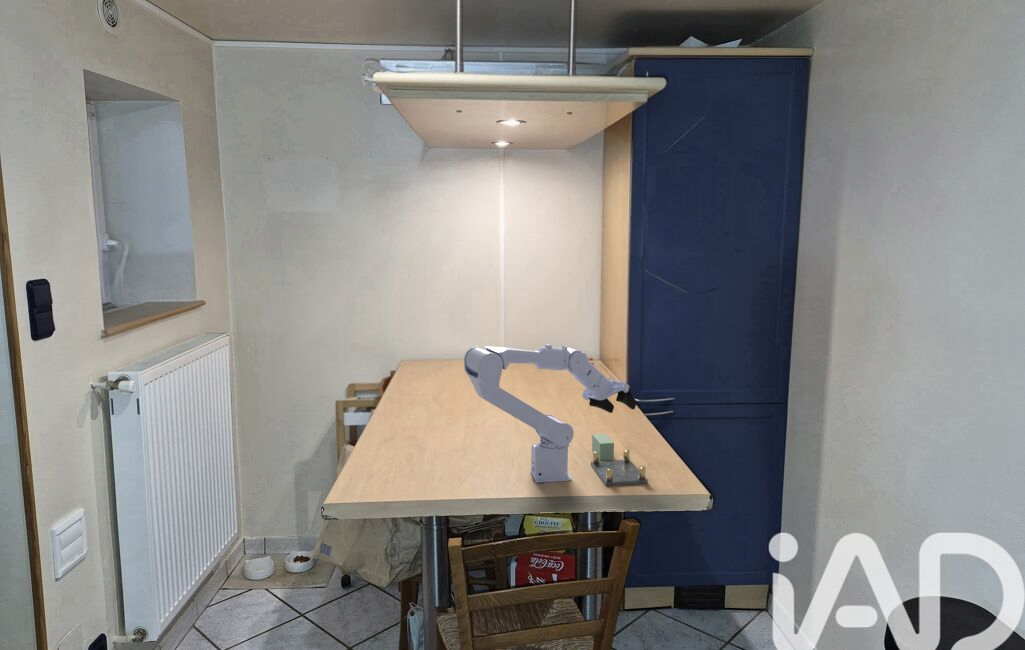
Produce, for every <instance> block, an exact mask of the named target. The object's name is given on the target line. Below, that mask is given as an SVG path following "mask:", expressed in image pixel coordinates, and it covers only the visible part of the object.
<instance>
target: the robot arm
mask: <svg viewBox="0 0 1025 650" xmlns="http://www.w3.org/2000/svg"><path fill="white" fill-rule="evenodd" d="M510 364H530V365H531V364H532V365H533V364H534V365H535V366H536V367H537V368H538V369H539V370H550V371H551V370H552V371H563V370H566V371H568V373H570V375H572V376H573V377H574V379H576V380H577V382H579V383H580V384H581V385H582V386H583V387H584V388H585V389H584V390H583V392H582V394H581V397H582V399H583V398H584V400H585V401H586V400H587V401H588V400H589V402H588V404H589V406H590V407H595V408H599V409H601V410H603V411H605V412H607V413H608V414H609V413H610V414H612V413H613V412H614V409H615V406H614V404H613V403H612V401H610V400H609V399H608V398H609V397H611V396H613V395H616V394H617V396H616V397H615V398H616V399H615V401H616V402H620V403H621V404H623V405H625V406H627V407H628V408H629V409H631V410H635V409H636V406H637V401H636V400H635V399H634V396H633V394H632V391H631V387H630V383H628V382H625V381H623V382H620V381H615V380H612V378H611V377H610V376H607V377H606V376H605V375H604V374H603V373H602V372H601V371H600V370H599V369H598V368H597V367H596V366H594V364H593V363H592V362H591V361H589V360H588V355H587V354H586V353H585V352H582V351H580V350H577V349H575V348H572V347H568V346H566V345H565V346H561V347H554V346H553V345H551V344H547V343H546V344H544V346H539V347H537V349H535V350H529V349H523V348H522V349H521V348H512V347H504V346H488V345H487V346H483V347H480V346H473V347H471V348H470V347H469V349H467V351H466V352H465V353H464V357H463V365H464V369H463V370H464V372H465V374H467V376H468V378H469V379H470V382H471V384H472V385H473V388H474V390H475V392H476V394H477V396H478V397H480V398H481V399H483V400H484V401H486V402H488V403H490V404H492V405H493V406H495V407H496V408H498V409H500V410H501V411H503V412H505V413H507V414H508V415H510V416H512V417H513V418H515V419H517V420H519V421H520V422H522V423H523V424H526V425H527V426H529V427H531V428H532V429H534V430H535V432H536V434H537V435H538V436H539V443H536V444H532V445H531V450H530V460H531V461H530V463H531V464H530V473H531V476H532V477H533V480H534V482H535V483H537V484H538V483H551V482H552V483H553V482H569V481H570V482H571V481H572V480H573V478H572V476H571V474H570V473H569V472H568V471H569V465H568V463H569V447H570V446H569V445H570V444H571V442H572V441H573V439H574V428H573V427H572V425H571V424H569V423H568V422H564V421H562V420H560V419H558V418H556V417H555V416H553V415H552V414H549V413H548V414H545V413H543V412H541V411H539V410H538V409H536V408H534V407H533V406H532V405H530V404H528V403H526V402H525V401H523V400H521V399H519V398H518V397H516V396H514V395H513V394H511V393H509V392H508V391H506V390H504V389H503V388H501V387H500V382H501V381H500V380H501V377H502V373H503V372H502V371H503V370H507V369H508V367H509V366H510Z"/></svg>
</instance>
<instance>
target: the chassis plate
mask: <svg viewBox="0 0 1025 650" xmlns="http://www.w3.org/2000/svg"><path fill="white" fill-rule="evenodd" d="M630 452H631V451H630V450H629V449H627V448H626V449H623V458H622V459H614V460H599V452H598V451H594V452H593V451H592V461H590V467H591V468H592V469H593V470H594V472H595V474H597V477H599V479H600V480H601V482H602V483H603V484H604V486H605V487H610V486H611V487H613V486H630V485H645V484H648V481H649V480H648V478H647V477H646V467H645V466H643V465H641V466H639V467H637V466H636V465H635V464H634V463H633V461H631V459H630V455H631V454H630Z"/></svg>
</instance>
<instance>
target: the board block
mask: <svg viewBox="0 0 1025 650" xmlns="http://www.w3.org/2000/svg"><path fill="white" fill-rule="evenodd" d="M591 437H592V438H591V439H592V440H591V441H592V442H591V451H592V453H593V452H594V451H598V452H599V461H611V460H615V458H614V457H615V456H614V455H615V454H614V452H615V442H614V441H613V440H612V438H610V436H608V434H606V433H595V434H592V435H591Z"/></svg>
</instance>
